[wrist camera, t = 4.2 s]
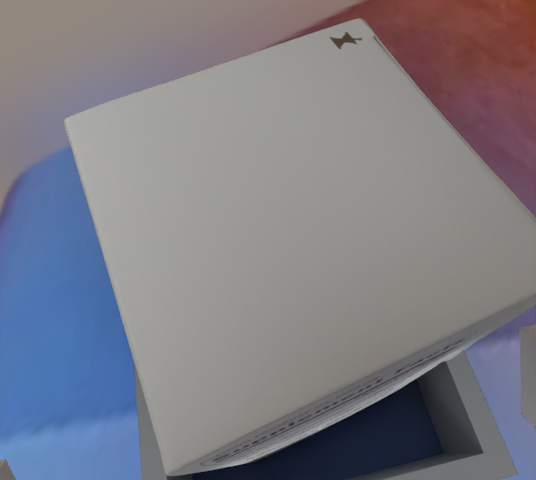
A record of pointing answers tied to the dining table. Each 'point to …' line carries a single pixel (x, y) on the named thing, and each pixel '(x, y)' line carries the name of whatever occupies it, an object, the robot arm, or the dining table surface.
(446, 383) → the grey open box
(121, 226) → the supplement box
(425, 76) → the dining table surface
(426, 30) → the dining table surface
